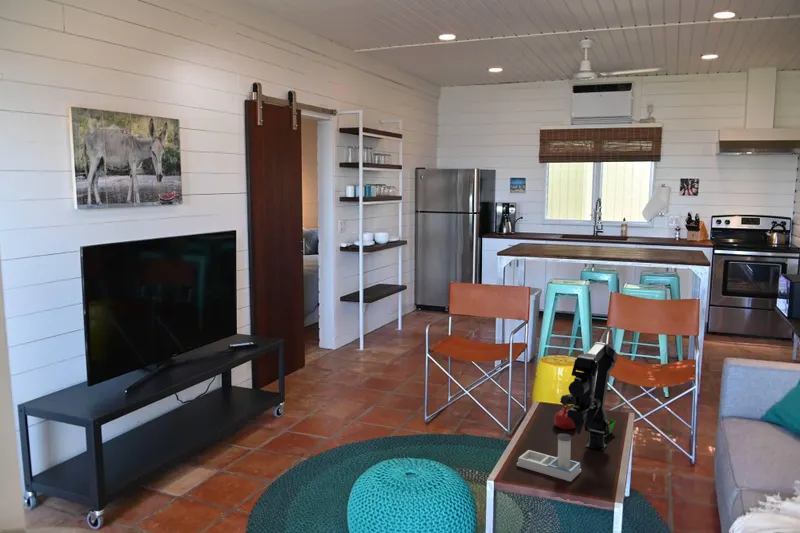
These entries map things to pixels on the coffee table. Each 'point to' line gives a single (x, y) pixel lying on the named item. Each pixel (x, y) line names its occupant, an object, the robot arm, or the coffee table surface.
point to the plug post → (564, 450)
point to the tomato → (563, 420)
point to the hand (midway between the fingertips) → (583, 429)
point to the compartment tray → (548, 465)
